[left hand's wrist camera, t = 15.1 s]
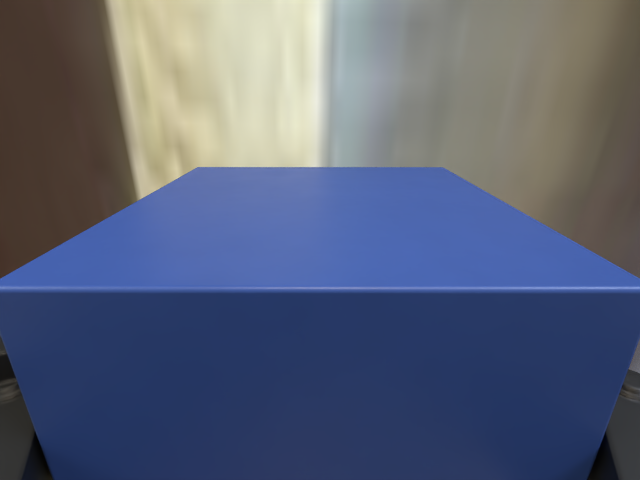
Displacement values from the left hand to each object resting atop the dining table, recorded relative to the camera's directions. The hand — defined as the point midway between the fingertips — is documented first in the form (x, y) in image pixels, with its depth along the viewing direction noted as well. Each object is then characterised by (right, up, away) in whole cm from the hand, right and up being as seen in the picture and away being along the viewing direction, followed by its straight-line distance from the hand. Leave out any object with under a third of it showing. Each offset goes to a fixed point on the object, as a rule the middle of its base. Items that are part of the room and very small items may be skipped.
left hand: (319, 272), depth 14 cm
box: (0, -10, +4) cm, 11 cm away
